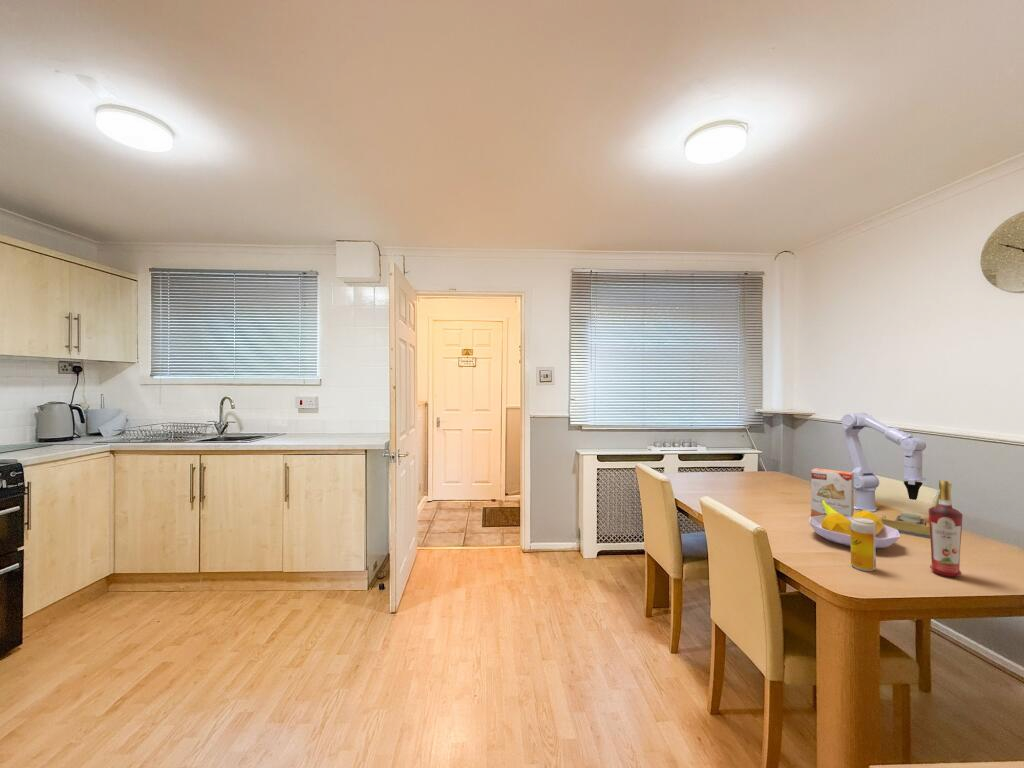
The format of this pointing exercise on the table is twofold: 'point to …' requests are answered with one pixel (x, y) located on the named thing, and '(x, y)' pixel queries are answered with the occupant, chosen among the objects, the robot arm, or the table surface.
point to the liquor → (945, 534)
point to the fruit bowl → (840, 527)
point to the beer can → (863, 544)
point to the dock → (908, 528)
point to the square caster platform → (911, 518)
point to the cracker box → (832, 491)
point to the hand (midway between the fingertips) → (913, 499)
